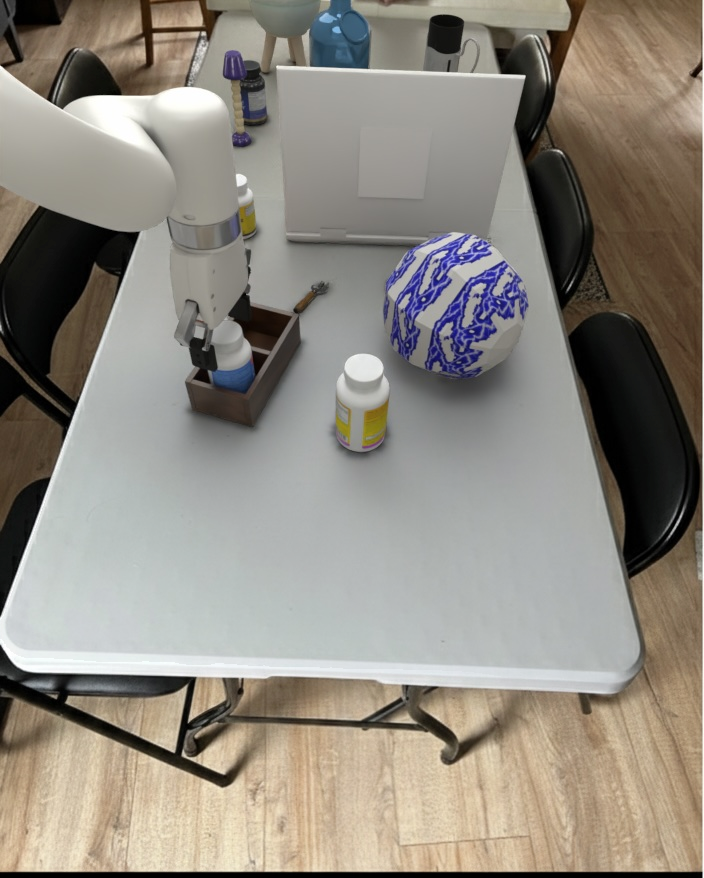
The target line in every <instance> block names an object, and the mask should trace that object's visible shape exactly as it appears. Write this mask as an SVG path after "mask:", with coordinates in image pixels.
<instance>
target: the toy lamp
mask: <svg viewBox="0 0 704 878" xmlns="http://www.w3.org/2000/svg"><path fill="white" fill-rule="evenodd" d="M246 76H247V71H246V68H245V65H244V58H243V56H242V53H241V52H240V51H238V50H237V49H232V50H231V49H230V50H227V51H226V52H225V53H224V58H223V66H222V77H223V78H224V79H226V80H228V81H230V84H231V87H230V90H231V93H232V95H231V98H232V101H233V102H232V107H233V115H234V124H235V132H233V133H232V142H233V146H237V147H245V146H249V145H251V143H252V137H251V135H250V134H249V133H248V132H247V131H245V126H244V120H243V111H242V103H241V94H240V91H241V89H240V85H239V84H240V80H241V79H244V78H246Z"/></svg>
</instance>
